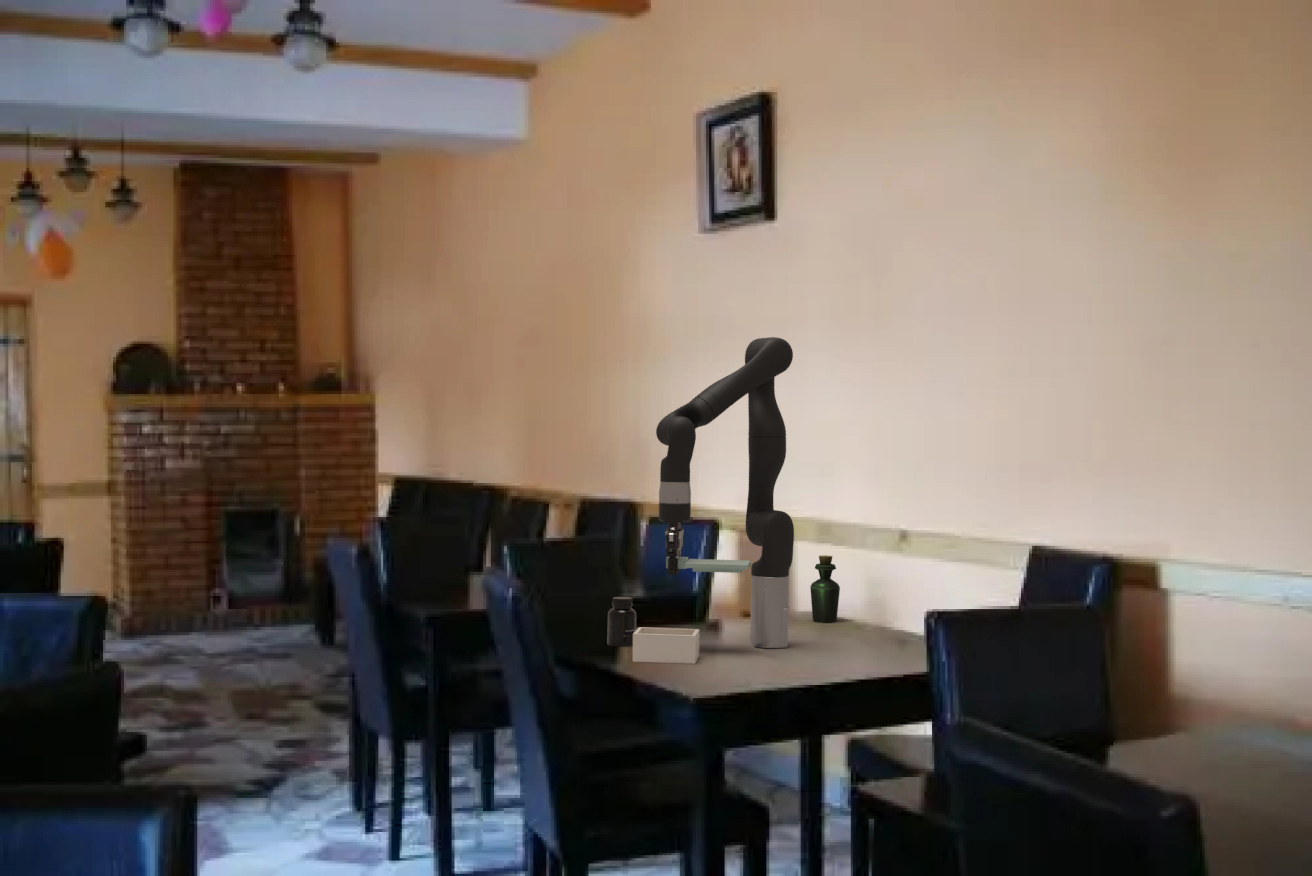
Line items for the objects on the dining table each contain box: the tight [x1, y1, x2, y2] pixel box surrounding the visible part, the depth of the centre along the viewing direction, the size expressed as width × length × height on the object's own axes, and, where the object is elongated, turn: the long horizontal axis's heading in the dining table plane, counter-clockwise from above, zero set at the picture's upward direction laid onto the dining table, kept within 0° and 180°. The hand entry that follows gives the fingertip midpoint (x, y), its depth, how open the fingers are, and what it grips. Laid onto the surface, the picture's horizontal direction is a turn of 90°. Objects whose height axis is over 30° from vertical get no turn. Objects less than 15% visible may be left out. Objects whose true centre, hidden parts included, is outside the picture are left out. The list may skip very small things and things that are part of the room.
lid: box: [665, 556, 752, 574], centre depth 325 cm, size 19×11×3 cm, turn 83°
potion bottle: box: [809, 554, 841, 624], centre depth 381 cm, size 8×8×18 cm
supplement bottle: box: [606, 596, 637, 648], centre depth 333 cm, size 7×7×12 cm
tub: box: [632, 626, 700, 665], centre depth 314 cm, size 14×10×7 cm
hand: (673, 573), depth 326 cm, fingers closed on lid, 4 cm apart
